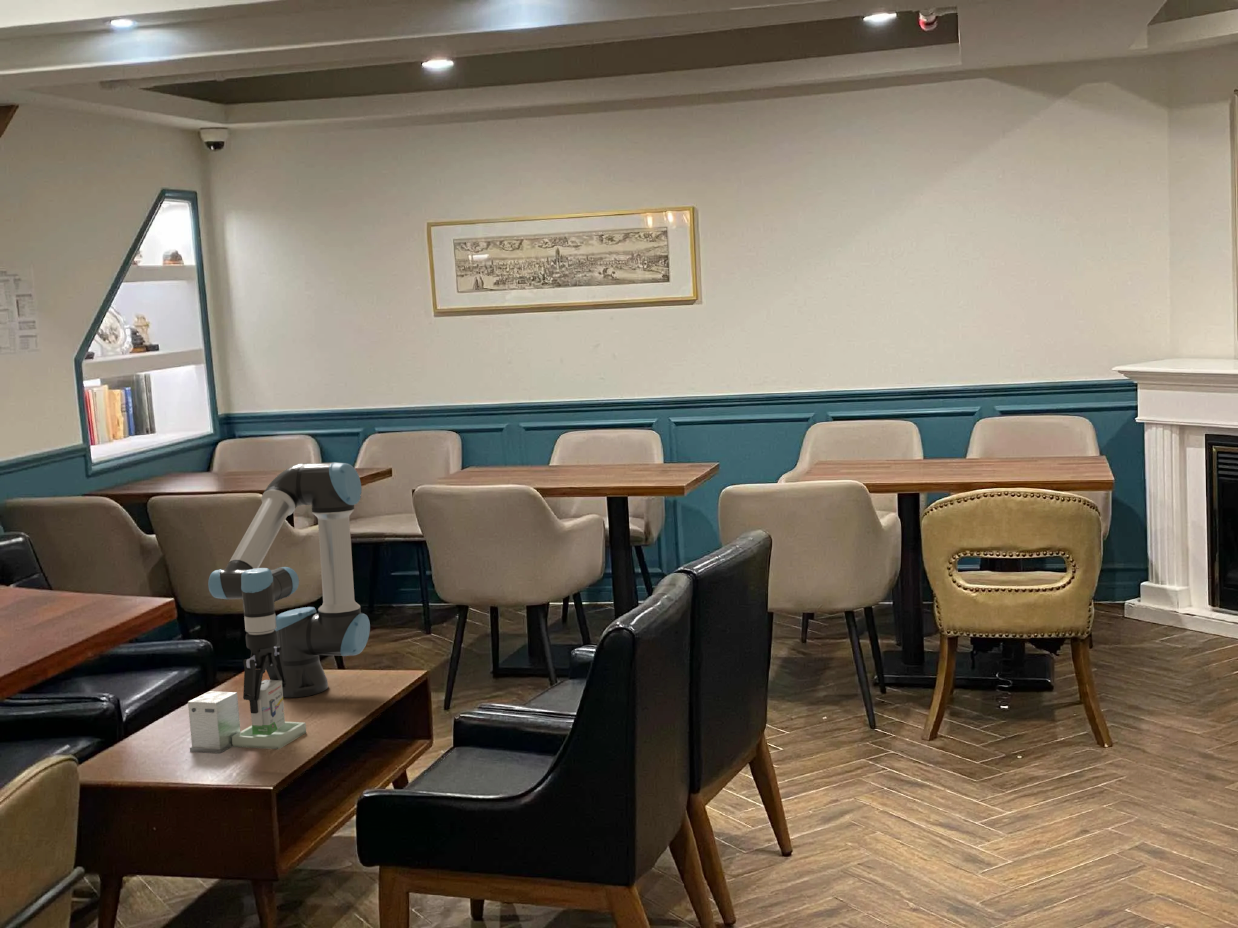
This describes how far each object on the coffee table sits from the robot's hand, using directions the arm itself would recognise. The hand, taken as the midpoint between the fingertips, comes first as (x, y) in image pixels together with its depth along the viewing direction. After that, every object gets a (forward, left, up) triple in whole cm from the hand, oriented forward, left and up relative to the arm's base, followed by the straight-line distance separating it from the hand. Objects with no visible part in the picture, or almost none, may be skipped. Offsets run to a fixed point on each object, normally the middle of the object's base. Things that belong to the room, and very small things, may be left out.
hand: (268, 718), depth 329 cm
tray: (0, 0, -5) cm, 5 cm away
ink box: (0, 0, -3) cm, 3 cm away
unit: (+6, -11, -5) cm, 14 cm away
